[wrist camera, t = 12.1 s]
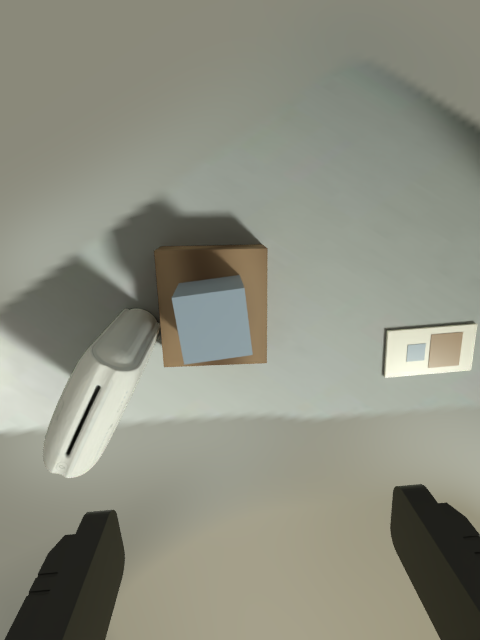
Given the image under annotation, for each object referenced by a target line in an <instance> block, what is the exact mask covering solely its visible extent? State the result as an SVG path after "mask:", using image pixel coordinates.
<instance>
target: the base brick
mask: <svg viewBox="0 0 480 640" xmlns="http://www.w3.org/2000/svg"><path fill="white" fill-rule="evenodd" d="M154 256H155V268H156V279H157V291H158V303H159V314H160V326H161V338H162V349H163V361H164V367H178V366H204V365H229V364H255V363H267V248H266V247H265V246H264V245H262V244H254V245H207V246H161V247H159V248H158V249H156V250H155V251H154ZM236 275H240V277H241V280H242V283H243V285H244V288H245V296H246V304H247V312H248V321H249V329H250V337H251V345H252V353H253V355H249V356H242V357H235V358H228V359H221V360H214V361H207V362H199V363H192V364H185V365H184V361H183V356H182V350H181V345H180V340H179V335H178V329H177V324H176V319H175V313H174V308H173V303H172V296H173V294H174V292H175V290H176V288H177V286H178V284H179V283H184V282H191V281H199V280H206V279H213V278H221V277H228V276H236Z"/></svg>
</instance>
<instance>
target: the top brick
mask: <svg viewBox="0 0 480 640" xmlns="http://www.w3.org/2000/svg"><path fill="white" fill-rule="evenodd" d="M172 303H173V308H174V313H175V319H176V324H177V329H178V335H179V340H180V345H181V350H182V356H183V361H184V365H185V364H192V363H199V362H207V361H214V360H221V359H228V358H235V357H242V356H249V355H253V353H252V345H251V337H250V329H249V321H248V312H247V304H246V296H245V288H244V285H243V283H242V280H241V277H240V275H236V276H228V277H221V278H213V279H206V280H199V281H191V282H184V283H179V284H178V286H177V288H176V290H175V292H174V294H173V296H172Z"/></svg>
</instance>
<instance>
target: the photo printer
mask: <svg viewBox="0 0 480 640" xmlns="http://www.w3.org/2000/svg"><path fill="white" fill-rule="evenodd" d="M159 330H160V324H159V323H157V320H156V319H155V317H154V316H153V315H152V314H151V313H149V312H147V311H145V310H143V309H130V310H129V309H127V308H126V309H124V310H123V311H122V312H121V313H120V314H119V315H118V316H117V317H116V319H115V320H114V321H113V322H112V323H111V324H110V325H109V326H108V327H107V328H106V329H105V331H104V332H103V333H102V334H101V335H100V336H99V337H98V338H97V339H96V340H95V341H94V342H93V343H92V344H91V346H90V347H89V348H88V349H87V350H86V352H85V353H84V354H83V355H82V357H81V358H80V360H79V361H78V363H77V365H76V367H75V369H74V371H73V372H72V374H71V376H70V378H69V380H68V382H67V384H66V386H65V388H64V390H63V393H62V395H61V397H60V399H59V401H58V404H57V406H56V409H55V411H54V413H53V416H52V419H51V421H50V424H49V427H48V430H47V433H46V436H45V442H44V447H43V448H44V449H43V459H44V464H45V466H46V468H47V469H48V471H50V472H51V473H58V474H61V475H63V476H64V477H66V478H72V477H77V476H80V475H82V474H84V473H86V472H87V471H88V470H90V469H91V468H92V467H93V466H94V464H95V463H96V462H97V461H98V460H99V458H100V457H101V455H102V453H103V452H104V450H105V448H106V446H107V444H108V442H109V441H110V439H111V437H112V435H113V433H114V431H115V429H116V427H117V425H118V423H119V421H120V419H121V416H122V414H123V412H124V410H125V408H126V406H127V404H128V402H129V400H130V398H131V396H132V394H133V392H134V390H135V388H136V386H137V384H138V382H139V379H140V377H141V375H142V373H143V371H144V369H145V366H146V364H147V362H148V359H149V357H150V355H151V352H152V350H153V347H154V345H155V343H156V340H157V337H158V334H159Z"/></svg>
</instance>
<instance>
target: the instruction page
mask: <svg viewBox="0 0 480 640" xmlns="http://www.w3.org/2000/svg"><path fill="white" fill-rule="evenodd" d="M476 331H477V324H476V323H472V324H460V325H447V326H435V327H423V328H411V329H399V330H387V332H386V349H385V365H384V377H385V378H387V377H399V376H410V375H422V374H433V373H445V372H456V371H468V370H471V367H472V360H473V352H474V345H475V338H476Z"/></svg>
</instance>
